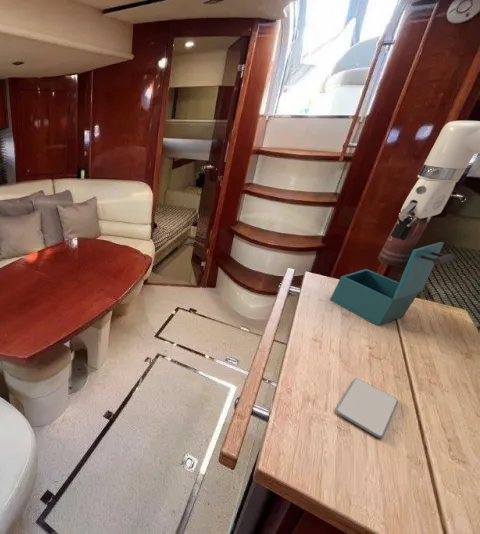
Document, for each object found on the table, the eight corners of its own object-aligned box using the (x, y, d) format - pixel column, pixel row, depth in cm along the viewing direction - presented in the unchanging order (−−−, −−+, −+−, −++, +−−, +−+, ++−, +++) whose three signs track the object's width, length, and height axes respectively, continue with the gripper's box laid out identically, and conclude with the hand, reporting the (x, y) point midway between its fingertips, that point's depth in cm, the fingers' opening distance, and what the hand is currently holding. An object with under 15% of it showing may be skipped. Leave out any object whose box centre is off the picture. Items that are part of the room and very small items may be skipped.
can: (384, 266, 91) (408, 222, 84) (372, 256, 96) (394, 214, 89) (409, 268, 89) (435, 224, 82) (395, 258, 95) (419, 215, 88)
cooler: (329, 300, 106) (341, 276, 101) (354, 292, 109) (366, 268, 104) (377, 326, 94) (393, 300, 89) (403, 316, 97) (419, 291, 92)
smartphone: (399, 399, 71) (382, 438, 63) (397, 401, 71) (380, 441, 63) (355, 376, 77) (335, 409, 69) (353, 379, 77) (333, 412, 69)
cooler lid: (412, 249, 83) (437, 255, 78) (440, 241, 86) (465, 247, 82) (392, 298, 89) (414, 306, 85) (418, 289, 92) (440, 296, 88)
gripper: (439, 180, 74) (402, 246, 83) (479, 172, 79) (439, 236, 88) (402, 173, 80) (370, 236, 89) (440, 167, 85) (407, 226, 94)
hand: (405, 235), depth 88 cm, fingers closed on can, 6 cm apart
